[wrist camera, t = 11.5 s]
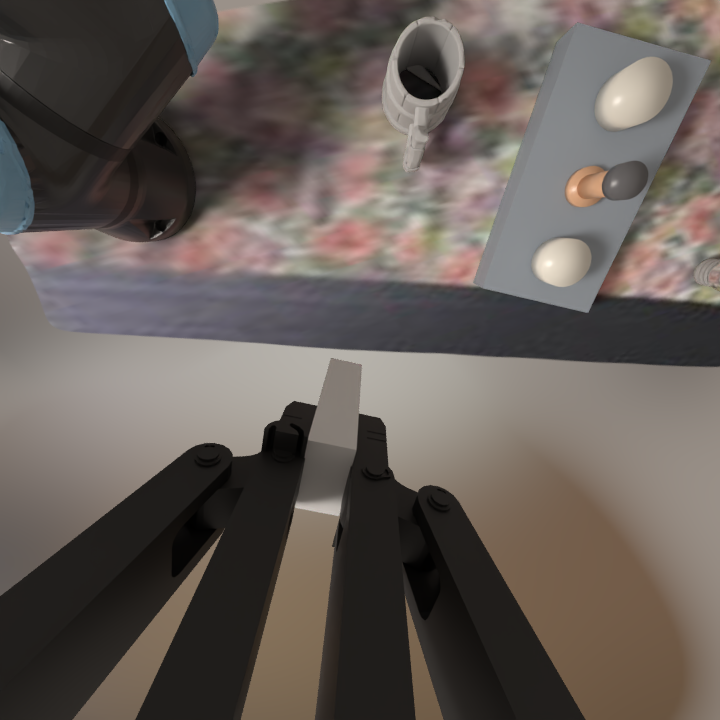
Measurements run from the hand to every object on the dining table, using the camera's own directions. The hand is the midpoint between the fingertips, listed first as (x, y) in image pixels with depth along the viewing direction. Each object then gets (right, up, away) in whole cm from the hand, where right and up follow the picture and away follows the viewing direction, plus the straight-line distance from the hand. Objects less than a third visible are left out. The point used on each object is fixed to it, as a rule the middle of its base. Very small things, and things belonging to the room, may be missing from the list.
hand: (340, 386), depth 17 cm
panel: (+26, +22, +25) cm, 42 cm away
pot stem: (+26, +20, +22) cm, 39 cm away
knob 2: (+28, +29, +22) cm, 46 cm away
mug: (+7, +29, +23) cm, 38 cm away
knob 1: (+24, +15, +28) cm, 40 cm away
